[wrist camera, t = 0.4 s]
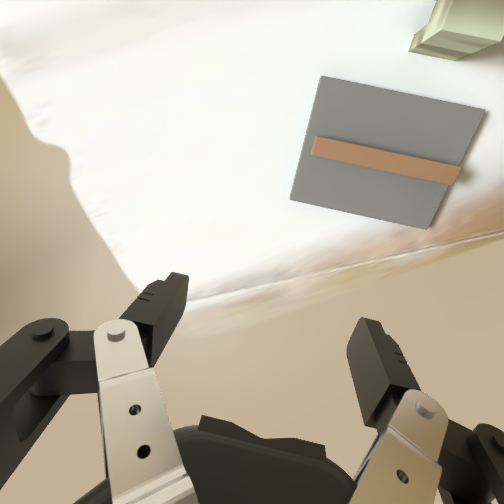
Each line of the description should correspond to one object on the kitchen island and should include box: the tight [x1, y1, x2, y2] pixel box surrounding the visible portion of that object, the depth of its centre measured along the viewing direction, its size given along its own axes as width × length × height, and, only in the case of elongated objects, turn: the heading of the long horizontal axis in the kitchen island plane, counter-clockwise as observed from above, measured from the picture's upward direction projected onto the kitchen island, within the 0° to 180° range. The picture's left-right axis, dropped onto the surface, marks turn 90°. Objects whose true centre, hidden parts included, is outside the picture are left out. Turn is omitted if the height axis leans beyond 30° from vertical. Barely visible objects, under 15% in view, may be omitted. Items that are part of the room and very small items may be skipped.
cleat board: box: [290, 76, 485, 230], centre depth 32 cm, size 14×18×4 cm
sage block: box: [409, 0, 504, 61], centre depth 25 cm, size 7×5×7 cm
